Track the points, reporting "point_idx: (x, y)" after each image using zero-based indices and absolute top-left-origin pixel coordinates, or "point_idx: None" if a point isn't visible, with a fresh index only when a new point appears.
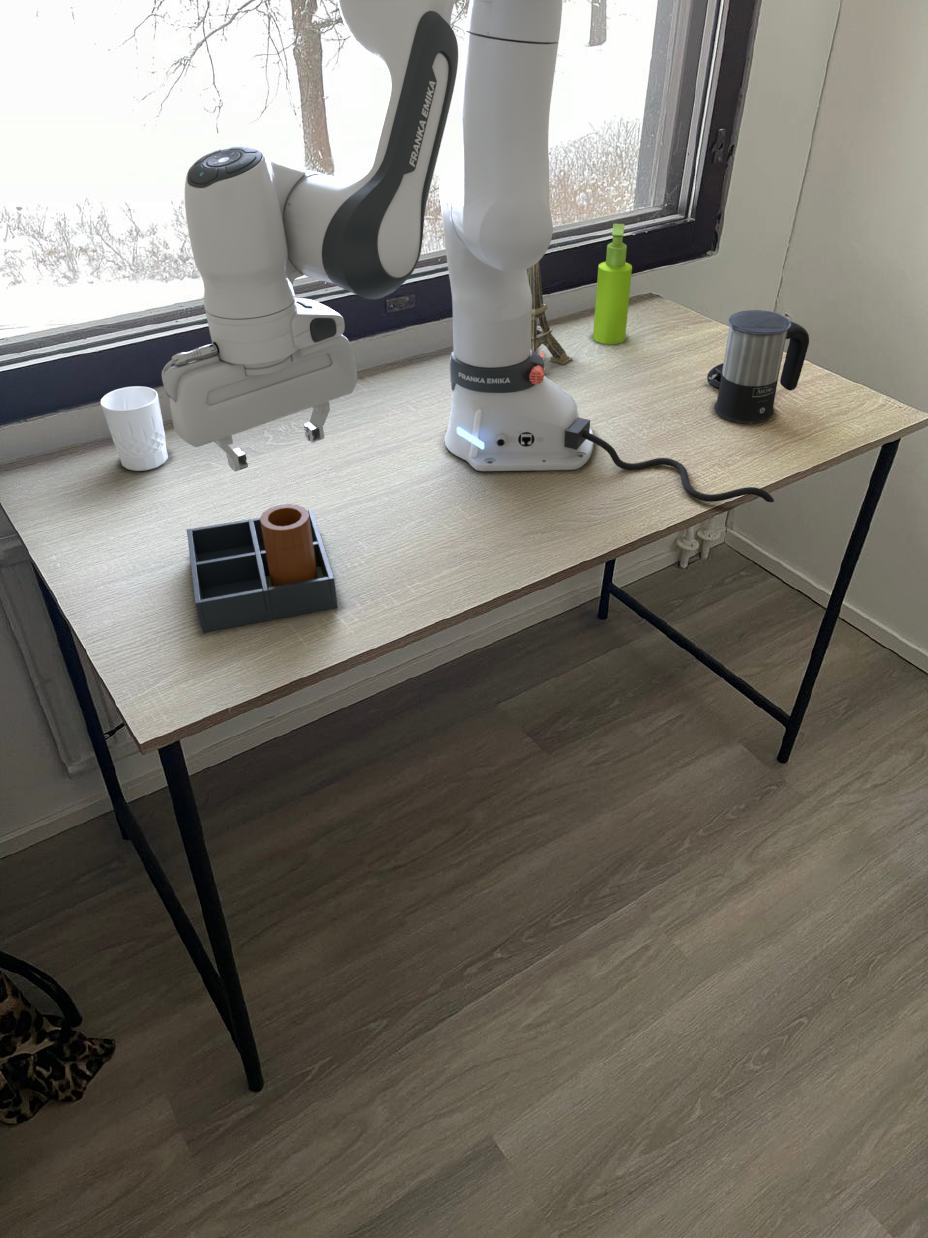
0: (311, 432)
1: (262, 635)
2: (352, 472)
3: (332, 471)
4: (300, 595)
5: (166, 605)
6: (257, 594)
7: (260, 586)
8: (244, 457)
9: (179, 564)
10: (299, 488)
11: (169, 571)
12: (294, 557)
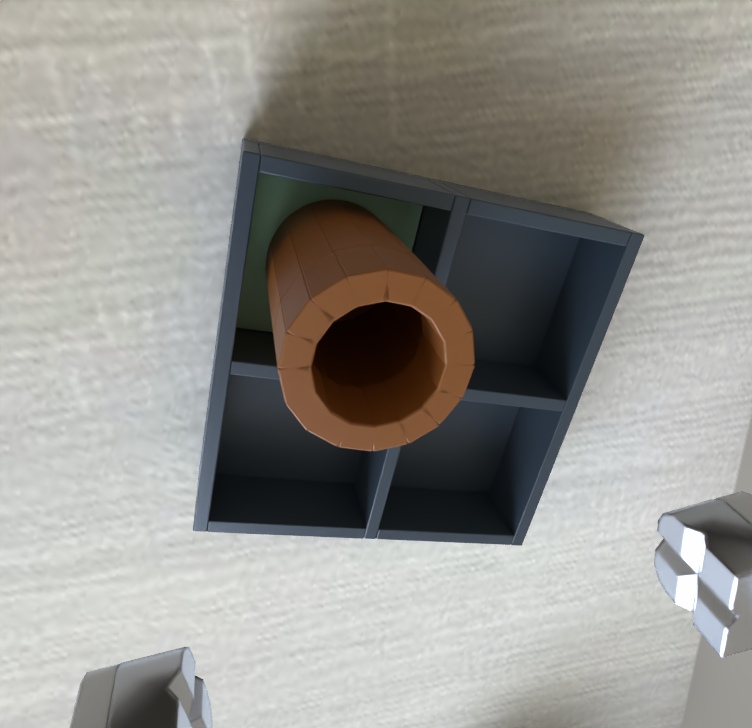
0: (179, 723)
1: (474, 124)
2: (22, 688)
3: None
4: (355, 169)
5: (607, 352)
6: (485, 200)
7: None
8: (732, 556)
9: None
10: None
11: None
12: (367, 234)
